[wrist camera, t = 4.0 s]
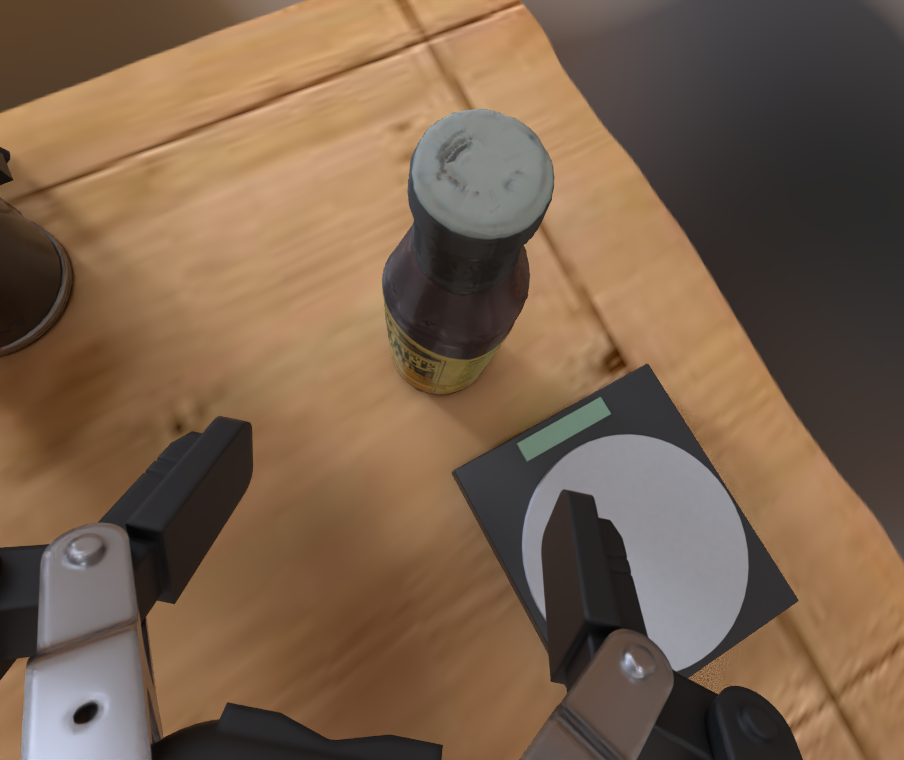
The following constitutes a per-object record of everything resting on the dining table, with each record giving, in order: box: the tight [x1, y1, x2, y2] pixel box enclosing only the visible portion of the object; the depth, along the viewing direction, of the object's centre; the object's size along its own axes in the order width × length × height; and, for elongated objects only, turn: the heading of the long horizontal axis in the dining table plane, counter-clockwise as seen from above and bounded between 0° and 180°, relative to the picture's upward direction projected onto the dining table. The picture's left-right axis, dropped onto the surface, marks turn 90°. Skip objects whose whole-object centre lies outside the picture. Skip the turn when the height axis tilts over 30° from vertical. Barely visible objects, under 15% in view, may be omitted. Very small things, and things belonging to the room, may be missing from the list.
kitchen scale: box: [452, 364, 798, 688], centre depth 30 cm, size 16×14×3 cm
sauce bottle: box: [382, 109, 554, 394], centre depth 23 cm, size 7×6×20 cm
